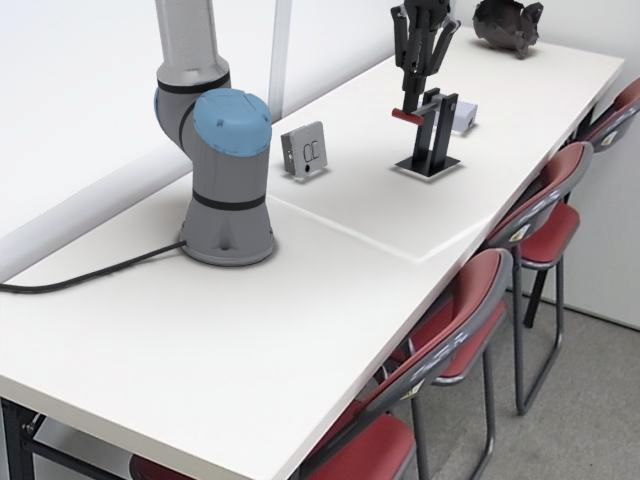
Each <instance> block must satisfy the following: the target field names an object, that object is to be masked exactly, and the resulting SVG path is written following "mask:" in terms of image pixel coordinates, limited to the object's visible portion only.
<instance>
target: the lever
mask: <svg viewBox="0 0 640 480" xmlns="http://www.w3.org/2000/svg"><path fill="white" fill-rule="evenodd" d="M446 96H448V95H447V94H443V93H441V92H440V93H439V94H437V95H434V96H432V99H431V102H430V103H428V104H426V105H424V106H421V107H419V108H417V111H414V112H412V113H410V114H408V113H405V112H402V109H400V108H397V107H393V108H392V111H391V117H392V118H396V119H398V120H401V121H405V122H408V123H410V124H414V125H416V126H418V125H419V126H421V125H422V124H423V122H424V117H421V116H420V115H422V114H424V113H427V112H429V111H431V110H435V111H438V112H440V108H441V102H442V98H443V97H446Z"/></svg>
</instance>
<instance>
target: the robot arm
mask: <svg viewBox="0 0 640 480" xmlns="http://www.w3.org/2000/svg"><path fill="white" fill-rule="evenodd" d="M154 5H155V11H156V18H157V25H158V31H159V38H160V44H161V45H160V46H161V51H162V58H163V61H162V63H161V64H160V65H159V66H158V68H157V70H156V72H155V75H156V82H157V86H156V89H155V91H154V96H153V110H154V116H155V118H156V120H157V122H158V125H159V127H160V129H161V130H162V132H163V133H164V134H165V136H166V137H167V139H168V138H169V140H170V141H172V142H173V143H174V144H175V145H176V146H177V147H178V148H179V149H180V150H181V152H183V153H184V154H185V156H186V157H187V158H188V159H189V160H190V161H191V162H192V180H191V181H192V185H191V187H192V188H191V200H190V202H189V205H188V208H187V211H186V214H185V219H183V221H182V223H181V226H180V231H179V241H178V242H175V243H172V244H169V245H167V246H163V247H160V248H158V249H155V250H152V251H150V252H146V253H145V254H141V255H139V256H136V257H133V258H131V259H127V260H125V261H122V262H119V263H116V264H113V265H111V266H107V267H104V268H101V269H99V270H95V271H91V272H88V273H85V274H82V275H79V276H75V277H73V278H70V279H66V280H63V281H59V282H56V283H51V284H45V285H32V286H27V285H15V284H7V283H0V290H7V291H13V292H14V291H15V292H27V293H28V292H29V293H32V292H45V291H51V290H56V289H57V290H58V289H61V288H64V287H68V286H71V285H73V284H77V283H79V282H83V281H86V280H89V279H92V278H96V277H99V276H102V275H105V274H108V273H111V272H114V271H117V270H120V269H122V268H125V267H128V266H130V265H133V264H137V263H140V262H142V261H146V260H147V259H150V258H152V257H153V258H154V257H156V256H158V255H161V254H164V253H166V252H167V253H168V252H170V251H172V250H175V249H178V248H181V249H182V251H183V252H184V253H186V255H188V256H189V257H191V258H193V259H194V260H197V261H200V262H203V263H206V264H210V265H214V266H223V267H238V266H239V267H240V266H246V265H251V264H255V263H258V262H260V261H262V260H264V259H266V258H268V257H269V255H271V253H272V252H273V250H274V243H275V242H274V240H275V238H274V237H275V236H274V230H273V227H272V225H271V219H270V215H269V211H268V206H267V203H266V202H267V201H266V200H267V189H268V188H267V187H268V176H269V164H270V152H271V141H272V137H273V127H272V113H271V110H270V108H269V106H268V104H267V103H266V102H265V101H264V100H263V99H262V98H261V97H259V96H257V95H256V94H253V93H251V92H249V93H247V92H245V90H242V89H238V88H233V87H232V79H231V78H232V77H231V70H230V63H229V62H228V61H227V60H226V59H225V58H223V56H221V55H220V54H219V49H218V39H217V31H216V30H217V29H216V22H215V14H214V13H215V12H214V3H213V0H154ZM389 11H390V15H391V19H392V22H393V39H394V41H393V42H394V64H395V67H396V68H400V69H401V70H402V71H403V79H402V85H401V90H402V92H404V96H403V102H402V107H401V110H402V112H405V113H408V114H410V113H412V112H414V111H417V107H418V101H419V100H420V96H421V95H424V92H425V90H426V84H427V78H428V77H432V76H435V75H436V74H438V73H439V71H440V69H441V66H442V64H443V61H444V59H445V57H446V54H447V52H448V49H449V47H450V44H451V42H452V40H453V37H454V35H455V34H456V33H457V31H458V30H459V29H460V27H461V26H462V22H461V20H459V19H457V20H456V19H455V17H454V16H453V15H452V14H451V12H452V7H451V0H403V3H401V4H399V5H396V6H393V7H391V8H390V10H389ZM408 21H409V23H408ZM443 22H444V23H443ZM441 25H442V27H441V28H442V31H441V32H440V34H439V36H438V39H437V41H436V43H435V40H436V36H437V34H438V32H439V31H438V30H439V27H440V26H441ZM434 46H435V47H434ZM419 102H420V101H419Z"/></svg>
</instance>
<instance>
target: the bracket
mask: <svg viewBox="0 0 640 480" xmlns="http://www.w3.org/2000/svg"><path fill="white" fill-rule="evenodd" d="M439 93H441V88H440V87H438V86H436V87H434V88H430V89H428V90H426V91H425V90H424V93H423V94H422V95H423V96H422V101H421V102H422V106H424V105H426V104H428V103H430V102H431V99H432V96H434V95H437V94H439ZM459 95H460V94H459V93H456V92H453V93H450V94H448V95H447V96H446V97H443V98H442V102H441V108H440V113H439V118H438V123H437V126H436V129H435V135H434V139H433V144H432V149H430V146H431V141H432V135H433V130H434V127H435V126H434V120H435V115H436V111H435V110H431V111H429V112H427V113H424V114H422V115H420V116H421V117H424V122H423V124H422V125H421V126H419V125H417V129H416V135H415V140H414V146H413V151H412V155H411V156H409V157H407V158H404V159H403V160H401V161H398V162H396V163H394V166H396V167H398V168H399V167H400V168H402V169H404V170H408V171H410V172H413V173H415V174H418V175H421V176H424V177H426V178H431V177H433V176H436V175H437V174H439V173H441V172H443V171H445V170H447V169H449V168H451V167H453V166H455V165H457V164H460V163H461V162H462V160H460V159H457V158H454V157H453V156H449V155H447V154H448V151H449V150H448V149H449V145H450V140H451V135H452V131H453V130H452V125H453V120H454V116H455V111H456V106H457V101H459Z"/></svg>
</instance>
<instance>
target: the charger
mask: <svg viewBox="0 0 640 480" xmlns="http://www.w3.org/2000/svg"><path fill="white" fill-rule="evenodd" d="M421 106H422V101H418V107H417V108H419V107H421ZM478 107H479V105H478V104H476V103H472V102H471V103H470V102H466V101H462V100H458V101H457V106H456V111H455V116H454V120H453V125H452V130H451V131H454V132H459V133H464V132H465V131H466V130H467V129H468V128H472V127H473V126H474V124H475V122H476V117H477V111H478ZM439 113H440V112H438V111H436V115H435V120H434V126H433V127H437V123H438V118H439Z"/></svg>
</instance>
